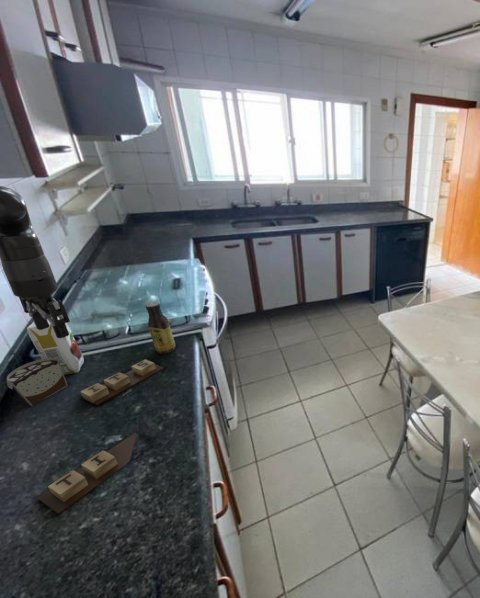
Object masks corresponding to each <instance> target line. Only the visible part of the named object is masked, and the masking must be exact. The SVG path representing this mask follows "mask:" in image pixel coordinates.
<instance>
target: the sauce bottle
mask: <svg viewBox="0 0 480 598" xmlns="http://www.w3.org/2000/svg"><path fill="white" fill-rule="evenodd" d="M145 309H146V310H147V314H148V322H147V327H148V328H147V329H148V330H149V331H148V332H149V334H150V337H151V340H152V343H153V346H154V349H155V351H156V353H158V354H161V355H162V354H163V355H164V354H168V353H171V352H173V351H174V350H175V349H176V348H177V347H176V342H175V338H174V335H173V331H172V328H171V324H170V323H169V319H168V317H167V316H166V315H164V314H163V311H162V310H161V309H162V308H161V303H160V302H159V301H150V302H147V303H146V304H145Z"/></svg>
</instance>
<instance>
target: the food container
mask: <svg viewBox="0 0 480 598" xmlns="http://www.w3.org/2000/svg"><path fill="white" fill-rule="evenodd" d="M60 363H62V362H61V360H60V359H58V358H45V359H42V358H40V359H36V360H33V361H31V362H28V363H25V364H23V365H21V366H19V367H17V368H15V369H13V370H12V371H11V372H10V373H9V374H7V376H6V384H7V385H6V386H7V387H8V388H9V389H11V390H13V389H14V391H16V393H17V394H18V395H19V396H20V397H21V399H23V401H24V402H25V403H26V404H27V405H28V406H30V407H33V406H34V405H36V404H38V403H40V402H41V401H43V400H45V399H47V398H49V397H51V396H52V395H54V394H56V393H58V392H59V391H62V390H63V389H65V388H67V387H68V386H69V385H68V382H67V379H66V377H65V375H64V374H63V371H62V368H61V365H60Z"/></svg>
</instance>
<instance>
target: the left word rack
mask: <svg viewBox="0 0 480 598" xmlns="http://www.w3.org/2000/svg"><path fill="white" fill-rule="evenodd" d="M137 436H138V433H137V432H133V433H132V434H131V435H129V436H128V437H126V438H125V439H122V441H120V442H119V443H117V444H115V445H114V446H112V447H110V449H108V450H103V449H102V450H101V451H100V452H98V453H96V454H95V455H93V456H92V457H91V458H89V459H87V460H86V461H84V462H82V463H81V464H80V465H81V468H79V469H78V470H76V471H75V470H74V469H72V470H71V471H69V472H67V473H66V474H65V475H63V476H61V477H60V478H58V479H57V480H56V481H54V482H52V483H51V484H49V485H48V486H47V488H48V490H46V491H45V492H44V493H42V494H40V495H39V496H37V497H36V498H37V500H38V501H39V502H40V503H42V504H43V505H44V506H46V507H47V508H49V509H50V510H51V511H53V512H55V513H56V514H57V515H59V516H60V515H62V514H63V513H64V512H65V511H67V510H68V509H69V508H70V507H72V506H74V505H75V504H76V503H77V502H79V501H80V500H81V499H83V498H84V497H85V496H87V495H88V494H89V493H90V492H92V491H93V490H94V489H96V488H97V487H98V486H100V485H101V484H102V483H103V482H105V481H107V480H108V479H109V478H111V477H112V476H113V475H114V474H115V473H117V472H118V471H119V470H121V469H122V468H123V467H125V466H126V465H127V464H129V463H130V460H131V457H132V453H133V450H134V447H135V443H136V441H137V440H136V439H137Z"/></svg>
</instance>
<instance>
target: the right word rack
mask: <svg viewBox="0 0 480 598" xmlns="http://www.w3.org/2000/svg"><path fill="white" fill-rule="evenodd" d="M154 364H155V368H156V369H154V370H153V371H151V372H149V373H147V374H145V375H143V376H141V375H139V374H136V373H134V372H133V370H132V369H131V370H129V371H126V372H125V373H122V372H117V373H115V374H113V375H111V376H108V377H107V378H105V379H103V382H104V383H103V384H101V383H99V382H96V383H95V384H93V385H91V386H89V387H87V388H84V389H83V390H80V394H81V395H80V398H81V399H82V400H85V401H86V402H88V403H91V404H92V405H95V406H96V407H99V406H101V405H103V404H104V403H106V402H109V401H111V400H112V399H114V398H115V397H118V396H119V395H121V394H123V393H125V392H127V391H128V390H129V389H131V388H134V387H136V385H138V384H140V383H141V382H143V381H145V380H147V379H148V378H150V377H152V376H154V375H155V374H157V373H158V372H160V371H162V370H164V369H165V367H164V366H161V365H158V364H156V363H154Z"/></svg>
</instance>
